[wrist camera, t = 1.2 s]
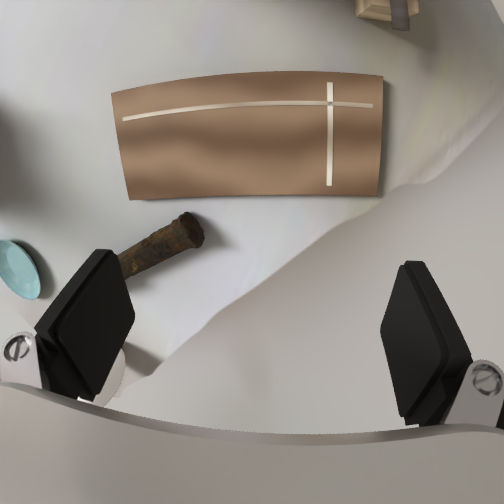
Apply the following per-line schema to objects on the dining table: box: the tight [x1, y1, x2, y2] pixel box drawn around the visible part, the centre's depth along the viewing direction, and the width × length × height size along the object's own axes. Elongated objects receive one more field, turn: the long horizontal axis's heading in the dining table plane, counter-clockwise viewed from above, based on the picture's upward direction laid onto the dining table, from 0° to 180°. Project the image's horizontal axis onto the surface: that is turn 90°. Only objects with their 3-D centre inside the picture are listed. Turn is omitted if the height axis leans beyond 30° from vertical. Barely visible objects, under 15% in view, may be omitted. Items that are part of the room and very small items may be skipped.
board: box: [111, 71, 383, 200], centre depth 28 cm, size 12×26×2 cm, turn 94°
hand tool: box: [117, 212, 205, 280], centre depth 36 cm, size 19×4×5 cm, turn 117°
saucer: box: [0, 239, 41, 300], centre depth 41 cm, size 12×12×2 cm
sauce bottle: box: [77, 349, 125, 407], centre depth 41 cm, size 8×8×18 cm
